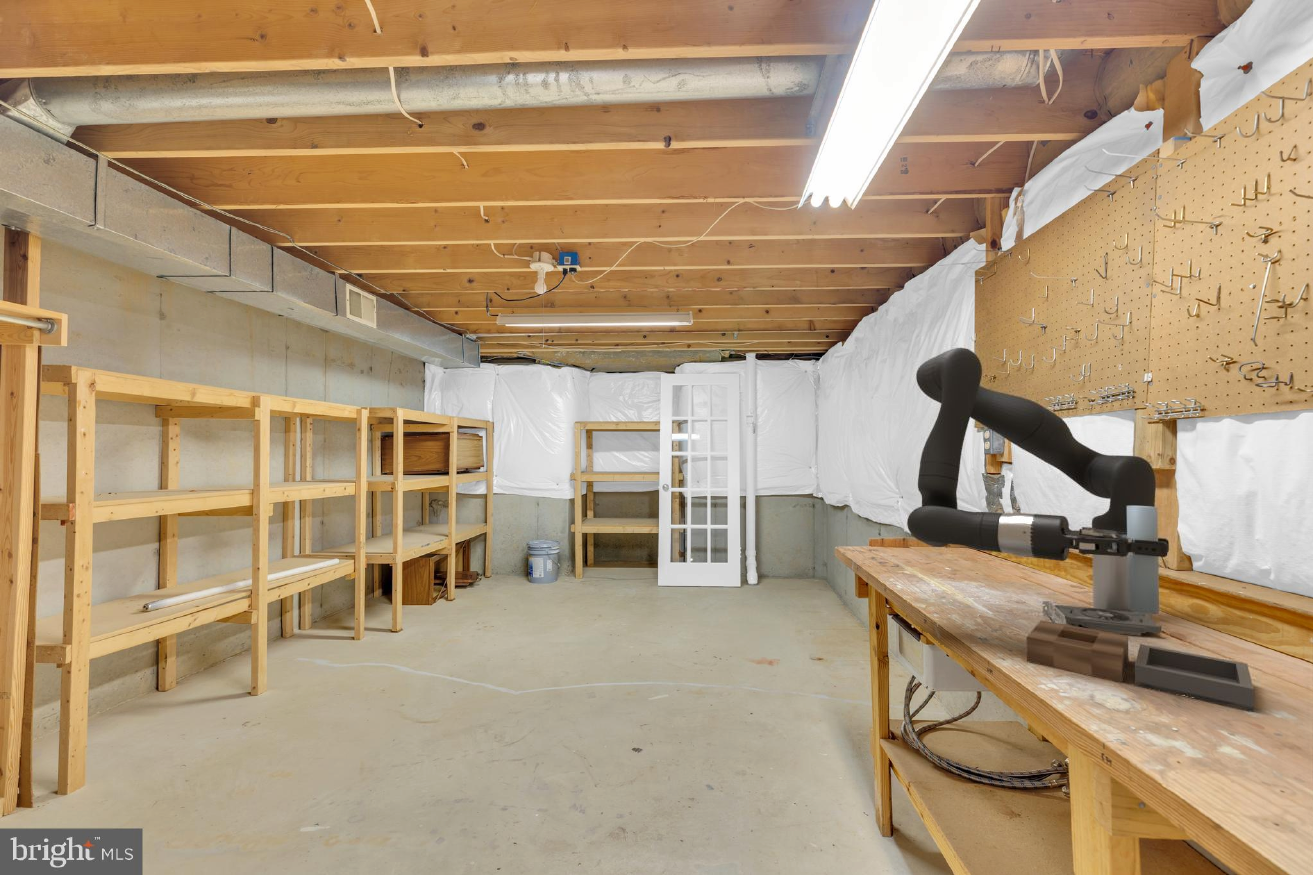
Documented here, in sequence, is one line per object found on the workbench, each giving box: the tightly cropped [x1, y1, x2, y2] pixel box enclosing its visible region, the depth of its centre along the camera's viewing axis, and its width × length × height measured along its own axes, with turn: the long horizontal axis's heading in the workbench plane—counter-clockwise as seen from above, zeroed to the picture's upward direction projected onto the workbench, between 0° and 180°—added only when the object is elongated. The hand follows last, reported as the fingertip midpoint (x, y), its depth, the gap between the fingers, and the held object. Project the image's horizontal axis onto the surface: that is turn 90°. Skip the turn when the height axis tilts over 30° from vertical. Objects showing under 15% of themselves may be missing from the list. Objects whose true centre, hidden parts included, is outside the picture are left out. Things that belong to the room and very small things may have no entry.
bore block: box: [1026, 619, 1129, 683], centre depth 92 cm, size 12×12×4 cm
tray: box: [1134, 643, 1255, 713], centre depth 83 cm, size 12×12×3 cm
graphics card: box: [1042, 600, 1162, 636], centre depth 108 cm, size 17×4×12 cm
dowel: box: [1127, 506, 1160, 615], centre depth 87 cm, size 4×4×16 cm
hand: (1167, 547), depth 85 cm, fingers closed on dowel, 3 cm apart
